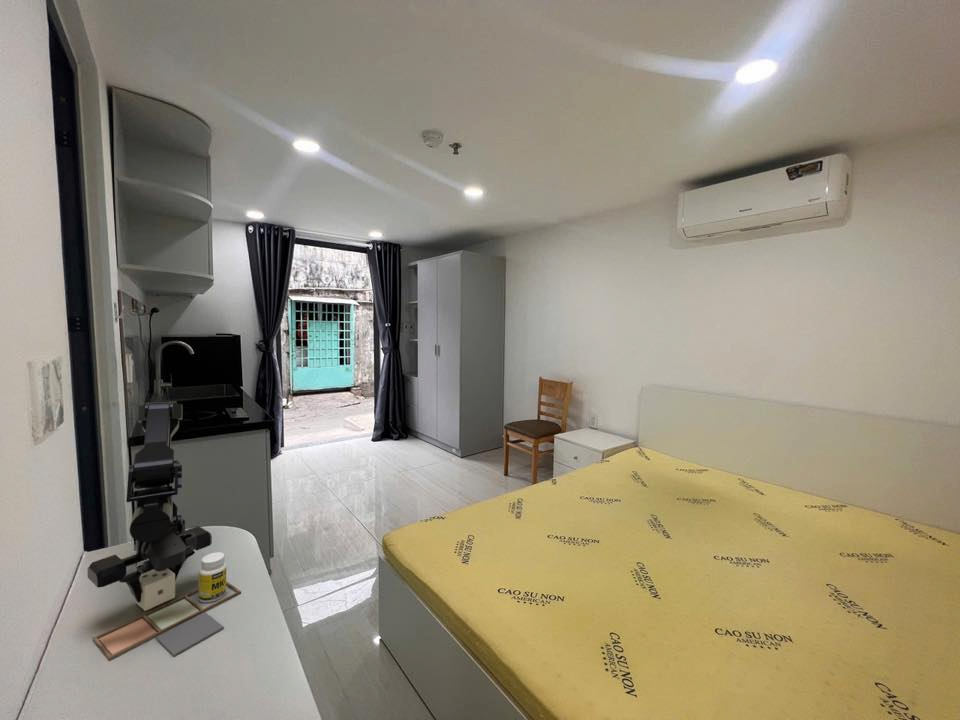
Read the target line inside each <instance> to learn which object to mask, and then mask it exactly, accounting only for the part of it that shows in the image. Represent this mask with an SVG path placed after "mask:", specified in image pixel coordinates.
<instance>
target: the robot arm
mask: <svg viewBox="0 0 960 720" xmlns="http://www.w3.org/2000/svg"><path fill="white" fill-rule="evenodd" d="M180 420H181V421H182V420H183V404H182V403H177V401H156V402H154V401H153V402H145V404H143V405H138V406H137V423H141V426H142V430H143V432H144V441H143V447H142V448H141V449H140V450H139V451H137V452H136V453H135V454H134V458H133V465H129V466H128V473H127V488H126V503H132V502H135V510H134V512H133V515H132V519H131V523H130V525H129V533H130V534H129V535H130V536H131V537H132V539H133V551H135V554H133V555H129V556H126V557H124V558H122V559H121V558H120V557H119V556H118V555H117V554H112V555H110V556H107V557H105V558H104V557H103V558H101V559H98V560H95V561H92V562H91V563H90V565H89V566H88V567H87V578H88V579H89V581H90V582H91V583H92V584H93V585H94V586H95V587H97V588H104V587H107V586H109V585H112V584H115V583H117V582H119V583H126V585H127V587H128V588H129V590H130V592H131V594H132V596H133V598H135V599H136V601H137V602H140V601H141V589H140V580H139V578H140V576H141V574H144V573H146V572H149V571H151V570H155V571H158V572H160V571H164V570H166V569H167V568H168V569H169V570H171V571H172V572H173V573H175V582H176V581H177V578H178V575H179V573H180V571H181V568H182V567H183V565H184V563H185V561H187V560H188V559H189V558H190V557H192V556H194V555H195V553H196V552H195V551H200V550H202V549H204V548H207V547H210V546H211V545H212V543H213V542H212V541H213V540H212V539H213V537H212V534H211V532H209V531H208V530H206V529H205V528H203V527H201V526H200V525H198V526H195V527H191V528H189V529H186V520H185V519H184V518H183V517H182V514H179V509H178V506H177V505H176V503H175V502H174V501H173V500H174V499H173V497H174V496H176V495H178V494H179V489H181V488H183V465H182V464H181V463H180V461H179V459H177V460H176V459H175V449H174V448H172V437H173V436H175V434H176V432H178V429H179V427H180ZM172 484H174V488H173V486H172ZM133 488H134V489H136V490H135V491H134V490H133ZM140 489H141V490H140Z"/></svg>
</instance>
